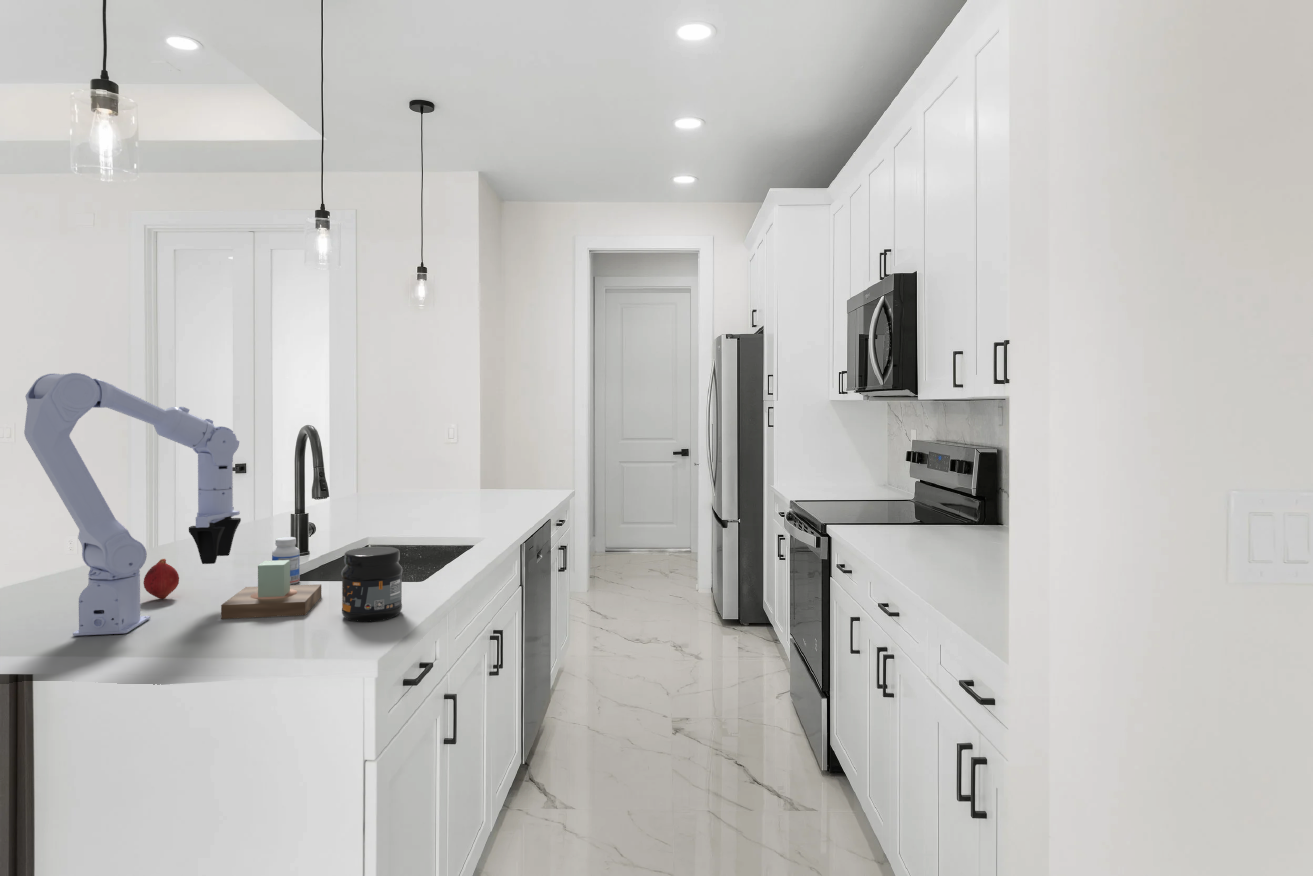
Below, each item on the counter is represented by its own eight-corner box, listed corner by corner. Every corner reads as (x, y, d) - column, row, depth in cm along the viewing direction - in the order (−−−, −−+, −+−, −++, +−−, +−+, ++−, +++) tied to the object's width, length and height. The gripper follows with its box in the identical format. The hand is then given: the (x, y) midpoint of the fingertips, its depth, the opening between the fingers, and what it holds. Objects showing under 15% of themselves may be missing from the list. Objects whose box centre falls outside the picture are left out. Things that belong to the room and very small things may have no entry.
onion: (150, 604, 144) (150, 563, 144) (139, 599, 147) (138, 559, 147) (184, 598, 148) (183, 558, 148) (172, 594, 152) (172, 554, 152)
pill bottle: (272, 581, 164) (272, 537, 164) (299, 579, 167) (299, 535, 166) (271, 586, 159) (271, 541, 159) (299, 584, 162) (299, 539, 161)
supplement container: (342, 610, 142) (342, 547, 141) (401, 606, 145) (401, 544, 145) (340, 625, 132) (340, 558, 131) (403, 620, 136) (403, 554, 135)
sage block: (284, 596, 141) (283, 564, 141) (257, 597, 140) (257, 565, 140) (290, 590, 146) (289, 560, 146) (264, 591, 145) (264, 560, 145)
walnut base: (305, 615, 138) (305, 601, 138) (221, 618, 135) (221, 604, 135) (321, 596, 152) (321, 584, 151) (245, 599, 148) (245, 586, 148)
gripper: (225, 492, 137) (226, 566, 137) (250, 484, 151) (250, 551, 151) (182, 493, 135) (183, 567, 136) (211, 485, 149) (211, 552, 150)
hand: (216, 559), depth 143 cm, fingers open, 7 cm apart
